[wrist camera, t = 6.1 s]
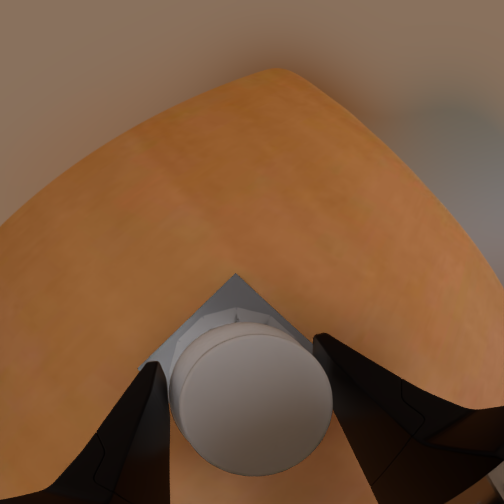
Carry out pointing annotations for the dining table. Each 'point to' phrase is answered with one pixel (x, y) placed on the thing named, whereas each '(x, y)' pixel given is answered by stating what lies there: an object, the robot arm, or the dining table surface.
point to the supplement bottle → (250, 399)
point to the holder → (223, 321)
